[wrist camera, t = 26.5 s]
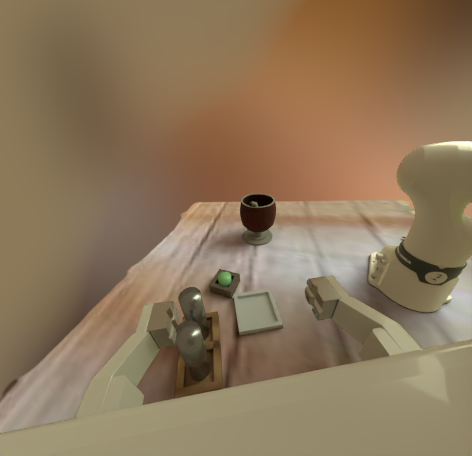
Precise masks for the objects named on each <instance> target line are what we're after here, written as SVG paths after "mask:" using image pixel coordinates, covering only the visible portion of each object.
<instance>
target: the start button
mask: <svg viewBox="0 0 472 456" xmlns="http://www.w3.org/2000/svg"><path fill="white" fill-rule="evenodd" d="M218 282H219V285H222V286H226V287H229V286H230V284H231V282H232V280H231V274H230V273H229V272H221V273H220V274H219V275H218Z"/></svg>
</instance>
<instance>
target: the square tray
mask: <svg viewBox="0 0 472 456" xmlns="http://www.w3.org/2000/svg"><path fill="white" fill-rule="evenodd" d="M233 295H234V302H235V309H236V315H237V322H238V329H239V335H245V334H250V333H256V332H262V331H267V330H273V329H279V328H283V322H282V319H281V316H280V314H279V311H278V308H277V305H276V303H275V300H274V297H273V294H272V292H271V289H263V290H257V291H251V292H244V293H238V294H233Z"/></svg>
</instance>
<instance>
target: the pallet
mask: <svg viewBox="0 0 472 456" xmlns="http://www.w3.org/2000/svg"><path fill="white" fill-rule="evenodd" d="M205 314H206V318H207V322H208V326H209V330H210V333H209V336H208V338H207V339H206V340H204V343H205V347H206V350H207V354H208V357H209V361H210V365H211V369H210V373H209V375H208V376H207V377H206V378H205V379H204V380H202V381H194V380H193V379H192V378H191V376H190V374H189V372H188V369H187V367H186V365H185V363H184V361H183V358H182V356H181V354H180V352H179V358H178V368H177V377H176V386H175V395H174V398H180V397H185V396H190V395H195V394H200V393H205V392H210V391H215V390H220V389H223V377H222V361H221V346H220V330H219V316H218V311H217V312H211V313H205ZM185 321H186V319H185V317H183V321H182V323H183V322H185Z"/></svg>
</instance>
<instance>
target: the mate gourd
mask: <svg viewBox="0 0 472 456" xmlns="http://www.w3.org/2000/svg"><path fill="white" fill-rule="evenodd" d="M240 215H241V220H242V223H243V225H244V226H245V227H246V228H247V229H248V230H247V231H245V233H244V235H243V237H244V240H245V241H246V242H247V243H249V244H252V245H264V244H267V243H269V242H270V241H271V240H272V233H271V232H270V231H269V230H268V229H269V228H270V227H271V226H272V225H273V223H274V220H275V215H276V204H275V199H274V197H272V196H270V195H268V194H261V193H257V194H249V195H246V196H244V197H243V198H242V199H241V207H240Z"/></svg>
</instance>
